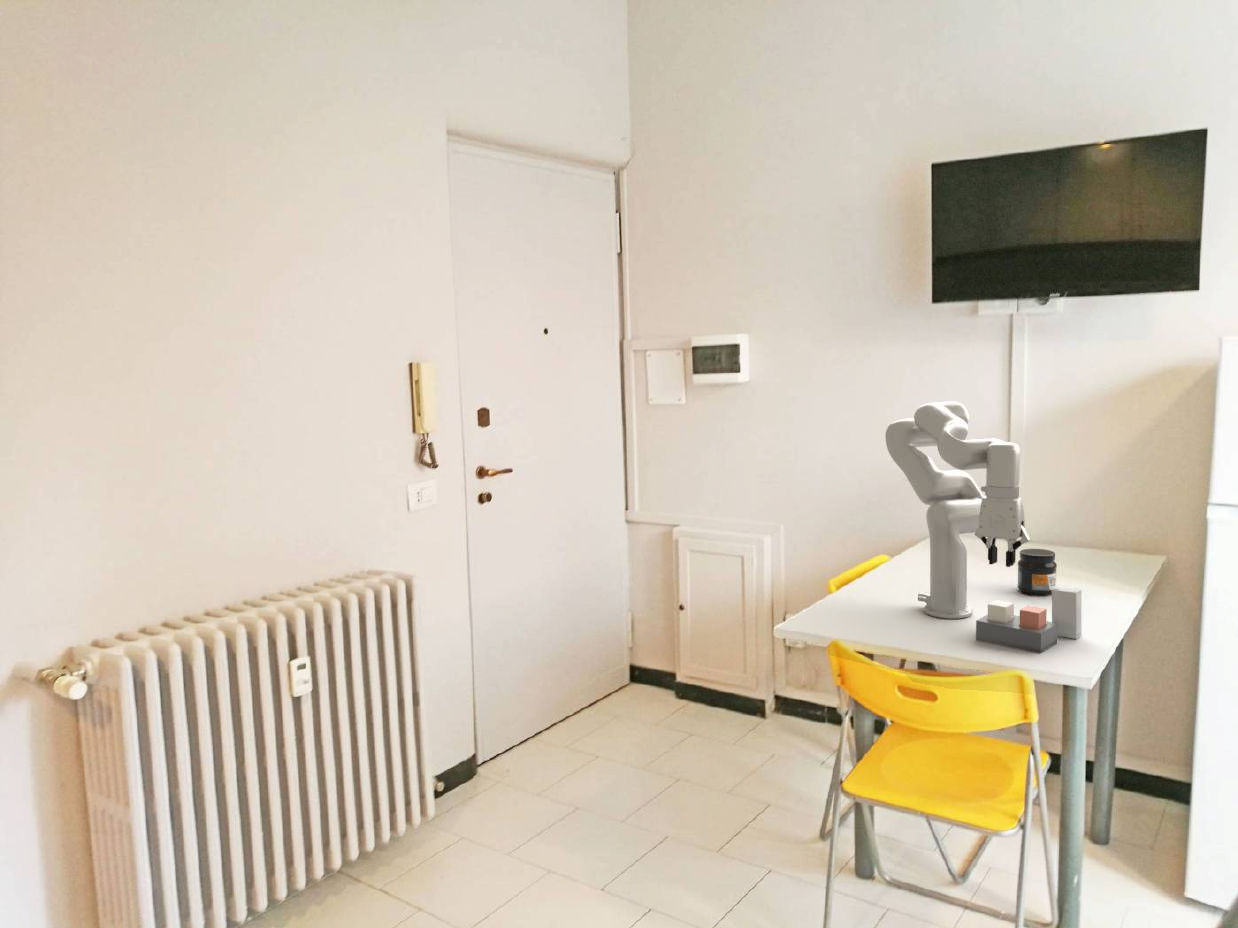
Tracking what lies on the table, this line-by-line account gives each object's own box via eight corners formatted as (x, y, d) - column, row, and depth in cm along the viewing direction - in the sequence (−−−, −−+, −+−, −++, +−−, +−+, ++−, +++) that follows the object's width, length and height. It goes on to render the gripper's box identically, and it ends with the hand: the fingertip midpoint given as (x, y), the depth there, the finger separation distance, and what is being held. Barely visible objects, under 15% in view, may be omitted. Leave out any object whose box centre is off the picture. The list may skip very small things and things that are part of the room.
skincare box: (1082, 635, 231) (1083, 588, 230) (1076, 640, 228) (1077, 592, 227) (1056, 631, 236) (1057, 585, 234) (1050, 635, 232) (1051, 589, 231)
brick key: (1019, 627, 226) (1019, 609, 225) (1027, 622, 229) (1027, 605, 228) (1038, 631, 222) (1038, 613, 222) (1046, 626, 226) (1046, 608, 225)
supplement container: (1060, 596, 265) (1061, 556, 263) (1021, 596, 267) (1022, 556, 266) (1051, 587, 275) (1051, 548, 274) (1013, 586, 277) (1014, 547, 276)
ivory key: (987, 621, 231) (987, 603, 231) (995, 616, 235) (995, 599, 234) (1005, 624, 228) (1006, 607, 228) (1013, 620, 231) (1013, 603, 231)
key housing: (976, 639, 231) (976, 620, 231) (993, 630, 238) (993, 611, 238) (1040, 653, 220) (1041, 633, 219) (1057, 642, 227) (1057, 623, 226)
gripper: (963, 491, 230) (962, 562, 233) (1030, 497, 219) (1028, 572, 221) (976, 487, 236) (976, 557, 238) (1042, 493, 224) (1041, 566, 226)
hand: (1001, 563), depth 229 cm, fingers open, 3 cm apart
